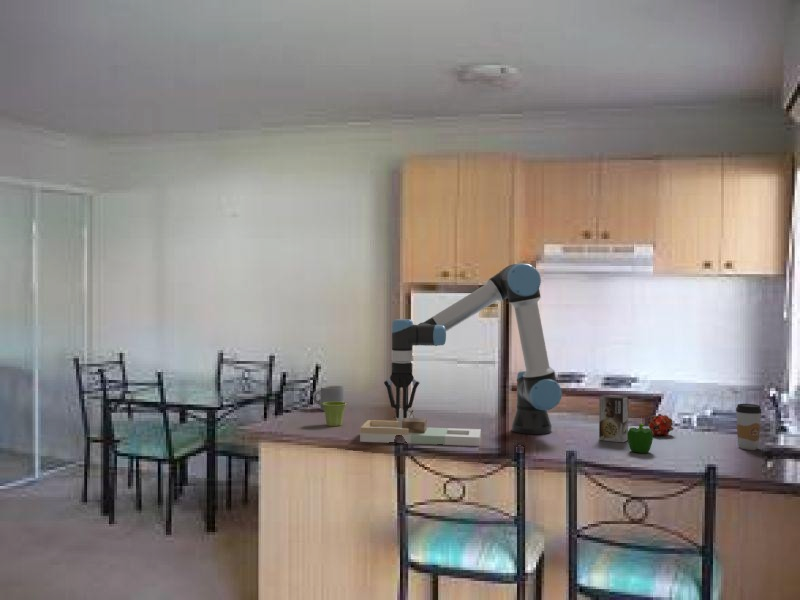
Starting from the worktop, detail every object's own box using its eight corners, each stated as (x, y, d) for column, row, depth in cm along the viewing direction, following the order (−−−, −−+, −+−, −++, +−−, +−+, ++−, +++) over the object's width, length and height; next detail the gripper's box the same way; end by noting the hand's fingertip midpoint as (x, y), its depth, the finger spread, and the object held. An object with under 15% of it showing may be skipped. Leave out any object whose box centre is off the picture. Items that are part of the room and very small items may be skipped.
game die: (403, 441, 304) (392, 421, 300) (397, 429, 312) (387, 410, 307) (423, 429, 304) (413, 410, 300) (418, 418, 312) (407, 399, 308)
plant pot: (343, 427, 310) (343, 405, 310) (319, 426, 312) (319, 404, 311) (348, 423, 319) (348, 401, 319) (325, 422, 321) (325, 401, 321)
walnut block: (426, 429, 292) (426, 418, 292) (424, 433, 284) (424, 422, 284) (404, 428, 293) (404, 417, 293) (401, 432, 285) (402, 421, 285)
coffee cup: (746, 451, 274) (747, 407, 274) (729, 446, 282) (730, 403, 282) (766, 449, 277) (767, 406, 276) (749, 445, 285) (750, 403, 284)
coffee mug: (346, 408, 359) (346, 386, 358) (338, 411, 349) (338, 388, 349) (318, 406, 362) (318, 384, 362) (310, 410, 353) (310, 387, 353)
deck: (480, 437, 293) (480, 423, 293) (479, 446, 277) (479, 431, 277) (367, 433, 299) (367, 420, 299) (360, 441, 283) (360, 427, 283)
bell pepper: (628, 448, 276) (628, 419, 276) (653, 450, 273) (653, 421, 273) (625, 453, 268) (626, 423, 268) (651, 455, 265) (652, 425, 265)
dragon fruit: (668, 437, 307) (657, 446, 297) (649, 422, 310) (638, 431, 301) (680, 421, 303) (670, 430, 293) (662, 406, 306) (651, 415, 297)
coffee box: (628, 440, 291) (629, 396, 291) (622, 443, 286) (623, 398, 286) (604, 437, 296) (605, 393, 296) (598, 440, 291) (598, 395, 291)
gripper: (421, 361, 291) (420, 425, 292) (385, 360, 293) (385, 424, 293) (418, 363, 284) (418, 429, 284) (382, 362, 286) (382, 428, 286)
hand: (401, 427), depth 289 cm, fingers closed
